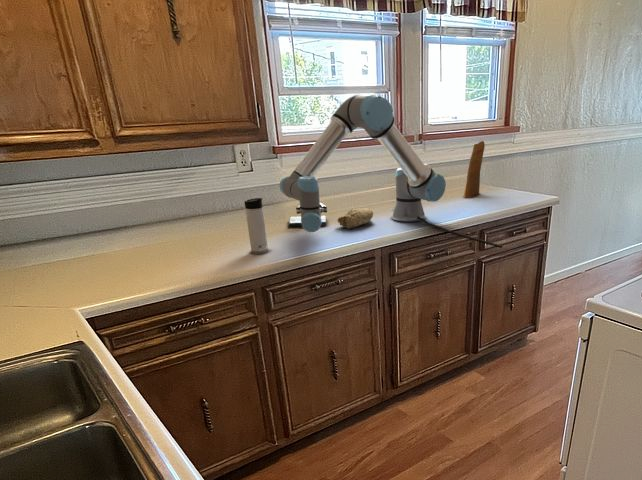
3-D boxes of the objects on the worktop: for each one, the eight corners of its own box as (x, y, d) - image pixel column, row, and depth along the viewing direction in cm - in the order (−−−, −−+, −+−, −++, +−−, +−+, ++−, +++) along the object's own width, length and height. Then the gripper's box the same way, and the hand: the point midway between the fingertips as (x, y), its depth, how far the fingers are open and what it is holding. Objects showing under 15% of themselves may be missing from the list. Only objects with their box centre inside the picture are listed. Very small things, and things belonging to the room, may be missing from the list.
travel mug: (264, 254, 195) (257, 200, 185) (248, 253, 196) (240, 199, 186) (271, 249, 200) (265, 196, 191) (255, 248, 201) (248, 196, 192)
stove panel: (325, 219, 243) (325, 214, 242) (326, 226, 231) (325, 222, 230) (291, 220, 241) (290, 215, 240) (289, 228, 229) (289, 223, 228)
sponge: (353, 233, 225) (384, 216, 236) (347, 216, 222) (379, 199, 232) (335, 233, 234) (365, 216, 245) (329, 217, 231) (360, 200, 241)
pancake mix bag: (485, 193, 297) (489, 140, 283) (471, 199, 282) (474, 144, 269) (474, 192, 300) (477, 140, 286) (459, 198, 285) (462, 143, 272)
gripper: (296, 224, 208) (297, 210, 229) (328, 222, 210) (327, 209, 230) (294, 205, 205) (296, 193, 225) (327, 203, 206) (326, 192, 227)
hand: (311, 201), depth 228 cm, fingers closed
